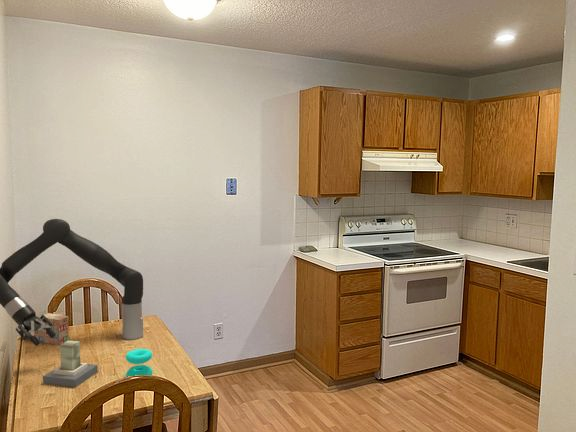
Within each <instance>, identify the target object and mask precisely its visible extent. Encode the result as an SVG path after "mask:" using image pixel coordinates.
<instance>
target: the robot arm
mask: <svg viewBox="0 0 576 432" xmlns="http://www.w3.org/2000/svg"><path fill="white" fill-rule="evenodd" d="M42 231H43V232H42V233H41V234H40V235H38V236H37V237H36V238H35V239H33V240H32V241H31V242H29V243H28V244H26V245H24V246H22V247H21V248H19V249H17V250H16V251H14V252H13V253H11V255H9V256H8V257H7V258H6V259H4V261H3V262H2V263H1V266H0V305H1V306H2V308H3V309H4V310H5V312H6V313H7V314H8V316H10V318H11V319H12V320H13V321H14V322H15V323H16V325H17V326H16V328H15V332H17V333H18V335H19V336H20V337H21V339H22V340H24V341H26V340H28V339H29V341H31V343H32V344H33V345H34V346H36V347H38V346H39V345H41V343H42V342H41V341H40V340H39V339H38V338H37V337H36V336H34V331H35V330H43V331H46V333H47V334H48V335H49V336H50V337H51V338H54V337H55V335H56V334H55V332H54V331H53V330H52V329H51V326H52V325H53V324H52V323H51V322H50V321H49V320H48V319H47V318H46V317H45V316H44V315H45V314H42V315H40V316H41V317H39V316H37V315H36V311H35V310H34V309H33V308H32V307H31V306H30V304H29V303H28V302H27V301H26V300H25V299H24V298H22V296H20V294H19V293H18V292H17V290H15V289H14V288H13V287H12V286H11V285H10V284H9V282H10V281H11V280H12V279H13V278H14V276H15V275H16V274H18V273H19V272H20V271H21V270H23V269H24V268H26V266H27V265H29V264H30V263H31V262H33V261H34V260H35V259H37V257H38V256H40V255H41V254H42V253H44V252H45V251H47V250H48V249H50V248H51V247H52V246H54V245H55V244H57V243H58V244H60V245H62V246H64V247H65V248H67V249H68V250H69V251H71V252H72V253H73V254H74V255H76V256H77V257H78V258H80V259H82V261H84V262H86V263H87V264H88V265H90V266H92V267H93V268H95V269H97V270H99V271H100V272H104V273H105V274H107V275H109V276H110V277H112V278H113V279H114V280H115V281H117V282H118V283H119V284H120V285H121V286H122V287H124V292H123V293H124V295H123V296H122V297H121V324H122V326H121V328H122V329H121V330H122V334H121V335H122V339H124V340H136V339H140V338H144V318H143V310H142V309H143V308H142V307H143V305H142V304H143V303H142V301H143V300H142V299H143V295H144V278H143V274H142V273H141V272H139V271H138V270H136V269H133V268H131V267H128V266H126V265H124V264H123V263H121V262H119V261H118V260H117V259H116V258H115V257H114V256H113V255H112V254H111V253H110V252H109V251H108V250H107V249H105V248H103V247H102V246H100V245H99V244H97V243H95V242H94V241H92V240H90V239H87V238H85V237H83V236H81V235H79V234H78V233H76V232H74V231H73V230H72V229H71V227H70V224H69V222H67V221H66V220H64V219H61V218H60V219H59V218H52V219H51V218H50V219H49V220H47V221H45V222H44V223H43V226H42ZM38 317H39V318H38ZM47 323H48V324H49V325H47ZM41 325H42V326H41ZM44 327H46V328H44ZM25 335H26V336H25Z"/></svg>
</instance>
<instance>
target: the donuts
mask: <svg viewBox="0 0 576 432" xmlns="http://www.w3.org/2000/svg"><path fill="white" fill-rule="evenodd" d="M152 358H153V352H152V351H151V350H149V349H147V348H136V349H133V350H130V351H128V352H127V353H126V355H125V360H126V361H127V362H128V363H129V364H133V365H134V366H132V367H130V368H128V370H127V371H126V378H127V377H128V376H135V375H151V376H152V375H153V373H154V371H153V369H152V368H151V366H149V365H145V364H144V363H147V362H149V361H150V360H151V359H152Z"/></svg>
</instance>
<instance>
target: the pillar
mask: <svg viewBox="0 0 576 432" xmlns="http://www.w3.org/2000/svg"><path fill="white" fill-rule="evenodd" d="M59 350H60V351H59V352H60V366H61V370H69V371H73V370H75V369H77V368H78V367H80V363H81V341H80V340H79V341H78V340H70V339H69V340H68V341H66V342H64V343H62V344H60V345H59Z"/></svg>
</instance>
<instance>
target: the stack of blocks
mask: <svg viewBox="0 0 576 432" xmlns="http://www.w3.org/2000/svg"><path fill="white" fill-rule="evenodd" d="M43 315H44V316H45V317H46V318H47V319H48V320H49V321H50V322H51V323H52V324H53V325H52V326H51V329H52V330H53V331H54V332H55V334H56V335H55V337H54V338H51V337H50V336H49V335H48V334H47V333H46V331H43V330H35V331H34V336H36V337H37V338H38V339H39V340H40V341H41V343H47V344H52V345H57V346H60V345H61V344H63V343H64V342H66V341H68V340H70V338H69V337H70V335H69V328H70V327H69V316H68V315H63V314H58V313H50V312H48V313H45V314H43ZM41 316H42V315H40V316H37V317H38V318H39V317H41ZM47 325H49V324H48V323H47ZM41 326H42V325H41ZM44 328H46V327H44ZM24 335H25V334H24ZM25 336H26V335H25ZM27 340H29V339H27ZM29 341H30V340H29Z"/></svg>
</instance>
